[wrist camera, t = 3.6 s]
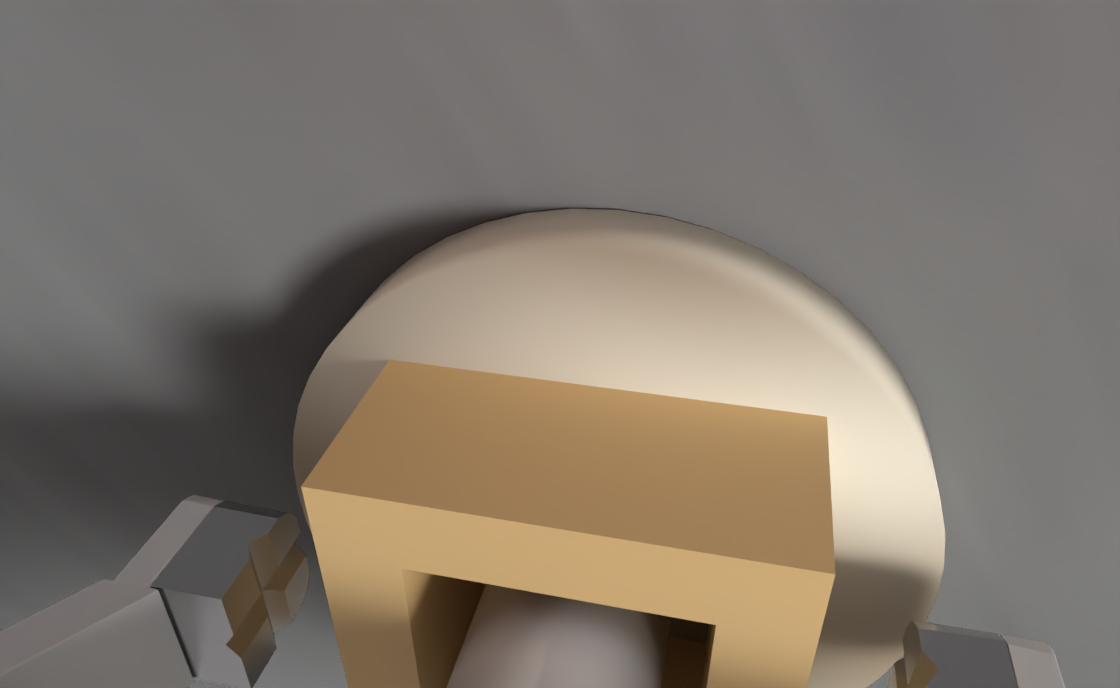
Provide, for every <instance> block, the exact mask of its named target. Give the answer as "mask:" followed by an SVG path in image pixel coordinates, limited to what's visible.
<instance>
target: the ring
mask: <svg viewBox="0 0 1120 688" xmlns="http://www.w3.org/2000/svg"><path fill="white" fill-rule="evenodd" d="M301 489H302V493H303V497H304V501H305V506H306V510H307V514H308V518H309V523H310V527H311V531H312V535H313V540H314V544H315V548H316V552H317V557H318V561H319V565H320V569H321V574H322V578H323V582H324V586H325V591H326V595H327V599H328V603H329V608H330V612H331V616H332V620H333V625H334V629H335V633H336V637H337V642H338V646H339V650H340V655H341V659H342V663H343V667H344V672H345V676H346V680H347V684H348V688H446V687H447V684H448V682H449V679H450V677H451V674H452V671H453V669H454V666H455V663H456V661H457V658H458V656H459V653H460V650H461V648H462V645H463V643H464V640H465V637H466V635H467V632H468V629H469V627H470V624H471V622H472V619H473V616H474V614H475V611H476V609H477V606H478V603H479V601H480V598H481V595H482V593H483V589H482V583H485V584H491V585H496V586H502V587H507V588H513V589H518V590H524V591H529V592H535V593H541V594H546V595H552V596H557V597H563V598H568V599H574V600H580V601H585V602H591V603H596V604H602V605H607V606H613V607H618V608H624V609H630V610H635V611H641V612H646V613H652V614H657V615H663V616H668V617H674V618H680V619H685V620H691V621H696V622H702V623H707V624H708V632H707V639H706V644H705V643H700V642H695V641H689V640H684V639H678V638H673V637H668V644H667V651H666V658H665V665H664V671H663V678H662V685H661V688H807V684H808V680H809V676H810V672H811V669H812V665H813V661H814V657H815V653H816V649H817V645H818V641H819V637H820V633H821V629H822V625H823V621H824V618H825V614H826V610H827V606H828V602H829V598H830V594H831V590H832V586H833V582H834V578H835V556H834V538H833V519H832V500H831V482H830V463H829V444H828V426H827V417H825V416H818V415H810V414H802V413H795V412H787V411H779V410H772V409H764V408H756V407H749V406H741V405H733V404H726V403H718V402H710V401H703V400H695V399H687V398H680V397H672V396H665V395H657V394H649V393H642V392H634V391H626V390H619V389H611V388H603V387H596V386H588V385H580V384H573V383H565V382H557V381H550V380H542V379H534V378H527V377H519V376H511V375H504V374H496V373H489V372H481V371H473V370H466V369H458V368H450V367H443V366H435V365H427V364H420V363H412V362H404V361H397V360H389V361H388V363H387V364H386V365H385V367H384V368H383V370H382V371H381V373H380V374H379V376H378V377H377V378H376V380H375V381H374V383H373V384H372V386H371V387H370V388H369V390H368V391H367V393H366V394H365V396H364V397H363V398H362V400H361V401H360V403H359V404H358V406H357V407H356V409H355V410H354V411H353V413H352V414H351V416H350V417H349V419H348V420H347V421H346V423H345V424H344V426H343V427H342V429H341V430H340V431H339V433H338V434H337V436H336V437H335V439H334V440H333V442H332V443H331V444H330V446H329V447H328V449H327V450H326V452H325V453H324V454H323V456H322V457H321V459H320V460H319V462H318V463H317V464H316V466H315V467H314V469H313V470H312V472H311V473H310V475H309V476H308V477H307V479H306V480H305V482H304V483H303V485H302V486H301Z"/></svg>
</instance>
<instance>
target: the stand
mask: <svg viewBox="0 0 1120 688" xmlns="http://www.w3.org/2000/svg"><path fill="white" fill-rule="evenodd" d="M389 360H397V361H404V362H412V363H420V364H427V365H435V366H443V367H450V368H458V369H466V370H473V371H481V372H489V373H496V374H504V375H511V376H519V377H527V378H534V379H542V380H550V381H557V382H565V383H573V384H580V385H588V386H596V387H603V388H611V389H619V390H626V391H634V392H642V393H649V394H657V395H665V396H672V397H680V398H687V399H695V400H703V401H710V402H718V403H726V404H733V405H741V406H749V407H756V408H764V409H772V410H779V411H787V412H795V413H802V414H810V415H818V416H825V417H827V426H828V444H829V463H830V482H831V500H832V519H833V538H834V556H835V578H834V582H833V586H832V590H831V594H830V598H829V602H828V606H827V610H826V614H825V618H824V621H823V625H822V629H821V633H820V637H819V641H818V645H817V649H816V653H815V657H814V661H813V665H812V669H811V672H810V676H809V680H808V684H807V688H866V687H868V686H869V685H870V684H872V683H873V682H875V681H876V680H877V679H879V678H880V677H881V676H882V675H883V674H884V673H885V672H886V671H887V670H888V669H889V668H890V667H891V666H892V665H894V663H895V662H897V661H898V660H899V659H900V658H901V657H902V656H903V655H904V649H903V641H902V639H903V636H904V634H905V631H906V628H907V626H908V625H909V623H910V622H911V621H912V620H915V621H921V622H926V620H927V618H928V615H929V613H930V611H931V609H932V607H933V605H934V603H935V601H936V597H937V593H938V589H939V585H940V581H941V577H942V573H943V569H944V553H945V528H944V521H943V514H942V508H941V501H940V495H939V490H938V486H937V481H936V476H935V471H934V466H933V461H932V456H931V451H930V447H929V442H928V437H927V433H926V430H925V427H924V424H923V421H922V418H921V415H920V413H919V410H918V407H917V404H916V401H915V399H914V397H913V395H912V393H911V391H910V389H909V387H908V386H907V384H906V382H905V380H904V378H903V376H902V375H901V373H900V371H899V369H898V367H897V365H896V364H895V363H894V361H893V360H892V359H891V357H890V356H889V355H888V353H887V352H886V351H885V349H884V348H883V347H882V346H881V344H880V343H879V342H878V340H877V339H876V338H875V336H874V335H873V334H872V332H871V331H870V330H869V329H868V328H867V327H866V326H865V325H864V324H863V323H862V322H861V321H860V320H859V319H857V318H856V317H855V316H854V315H853V314H852V313H851V312H850V311H849V310H848V309H847V308H846V307H845V306H844V305H843V304H842V303H841V302H840V301H839V300H838V299H836V298H835V297H834V296H832V295H831V294H830V293H828V292H827V291H826V290H824V289H823V288H822V287H820V286H819V285H818V284H816V283H815V282H814V281H812V280H811V279H810V278H808V277H807V276H806V275H804V274H803V273H801V272H800V271H798V270H796V269H794V268H793V267H791V266H789V265H787V264H785V263H784V262H782V261H780V260H778V259H777V258H775V257H773V256H771V255H769V254H768V253H766V252H764V251H762V250H761V249H758V248H756V247H754V246H751V245H749V244H746V243H744V242H741V241H739V240H737V239H734V238H732V237H729V236H727V235H724V234H722V233H720V232H717V231H715V230H711V229H708V228H704V227H700V226H697V225H693V224H690V223H686V222H682V221H679V220H675V219H671V218H668V217H662V216H655V215H649V214H642V213H636V212H629V211H622V210H603V209H562V210H552V211H541V212H531V213H524V214H520V215H515V216H511V217H507V218H502V219H498V220H494V221H490V222H485V223H482V224H480V225H477V226H475V227H472V228H469V229H467V230H464V231H462V232H459V233H456V234H454V235H451V236H449V237H446V238H444V239H443V240H441V241H439V242H437V243H436V244H434V245H432V246H430V247H429V248H427V249H425V250H423V251H422V252H420V253H418V254H416V255H414V256H413V257H412V258H411V259H409V260H408V261H407V262H406V263H404V264H403V265H402V266H401V267H399V268H398V269H397V270H396V271H394V272H393V273H392V274H391V275H389V276H388V277H387V278H386V279H385V280H384V281H383V282H382V283H381V284H380V286H379V287H378V288H377V289H376V290H375V291H374V292H373V293H372V294H371V296H370V297H369V298H368V299H367V300H366V301H365V302H364V304H363V305H362V306H361V307H360V308H359V310H358V311H357V312H356V313H355V314H354V316H353V317H352V318H351V319H350V321H349V322H348V323H347V324H346V325H345V327H344V328H343V329H342V330H341V331H340V333H339V334H338V335H337V336H336V338H335V339H334V340H333V341H332V342H331V344H330V345H329V346H328V347H327V349H326V350H325V352H324V353H323V355H322V357H321V358H320V360H319V362H318V363H317V365H316V366H315V368H314V370H313V371H312V373H311V375H310V376H309V379H308V381H307V384H306V387H305V389H304V392H303V395H302V397H301V400H300V402H299V405H298V411H297V416H296V422H295V427H294V433H293V467H294V474H295V480H296V486H297V492H298V496H299V499H300V503H301V506H302V509H303V512H304V515H305V518H306V522H307V524H308V526H309V528H310V530H311V527H310V523H309V518H308V514H307V510H306V506H305V501H304V497H303V493H302V489H301V486H302V485H303V483H304V482H305V480H306V479H307V477H308V476H309V475H310V473H311V472H312V470H313V469H314V467H315V466H316V464H317V463H318V462H319V460H320V459H321V457H322V456H323V454H324V453H325V452H326V450H327V449H328V447H329V446H330V444H331V443H332V442H333V440H334V439H335V437H336V436H337V434H338V433H339V431H340V430H341V429H342V427H343V426H344V424H345V423H346V421H347V420H348V419H349V417H350V416H351V414H352V413H353V411H354V410H355V409H356V407H357V406H358V404H359V403H360V401H361V400H362V398H363V397H364V396H365V394H366V393H367V391H368V390H369V388H370V387H371V386H372V384H373V383H374V381H375V380H376V378H377V377H378V376H379V374H380V373H381V371H382V370H383V368H384V367H385V365H386V364H387V363H388V361H389ZM311 532H312V531H311ZM482 589H483V593H482V595H481V598H480V601H479V603H478V606H477V609H476V611H475V614H474V616H473V619H472V622H471V624H470V627H469V629H468V632H467V635H466V637H465V640H464V643H463V645H462V648H461V650H460V653H459V656H458V658H457V661H456V663H455V666H454V669H453V671H452V674H451V677H450V679H449V682H448V684H447V687H446V688H661V685H662V678H663V671H664V665H665V658H666V651H667V644H668V637H673V638H678V639H684V640H689V641H695V642H700V643H705V644H706V639H707V632H708V624H707V623H702V622H696V621H691V620H685V619H680V618H674V617H668V616H663V615H657V614H652V613H646V612H641V611H635V610H630V609H624V608H618V607H613V606H607V605H602V604H596V603H591V602H585V601H580V600H574V599H568V598H563V597H557V596H552V595H546V594H541V593H535V592H529V591H524V590H518V589H513V588H507V587H502V586H496V585H491V584H485V583H482Z"/></svg>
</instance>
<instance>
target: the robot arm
mask: <svg viewBox="0 0 1120 688" xmlns="http://www.w3.org/2000/svg"><path fill="white" fill-rule="evenodd" d="M300 533H301V532H300V529H299V525H298V522H297V518H296V515H292V514H289V513H285V512H280V511H275V510H270V509H265V508H260V507H255V506H250V505H245V504H240V503H236V502H231V501H226V500H225V501H224V500H219V499H214V498H208V497H203V496H198V495H192V496H190V497H188V498H186V499H184V500H183V501H181V502H180V504H179V505H178V506H177V507H176V508H175V509H174V511H173V512H172V513H171V514H170V515H169V516H168V518H167V519H166V520H165V521H164V522H163V523H162V525H161V526H160V527H159V528H158V529H157V530H156V532H155V533H154V534H153V535H152V536H151V537H150V538H149V540H148V541H147V542H146V543H145V544H144V545H143V547H142V548H141V549H140V550H139V551H138V552H137V554H136V555H135V556H134V557H133V558H132V559H131V561H130V562H129V563H128V564H127V565H126V566H125V568H124V569H123V570H122V571H121V572H120V573H119V575H118V576H117V577H116V578H115V579H114V580H109V579H102V580H100V581H98V582H96V583H95V584H93V585H91V586H89V587H87V588H85V589H83V590H81V591H79V592H77V593H75V594H73V595H71V596H69V597H67V598H65V599H63V600H61V601H59V602H57V603H55V604H53V605H51V606H49V607H47V608H45V609H43V610H41V611H39V612H37V613H35V614H33V615H31V616H29V617H27V618H25V619H23V620H21V621H19V622H17V623H15V624H13V625H11V626H9V627H7V628H5V629H3V630H1V631H0V688H188V687H189V686H190V685H192V684H193V683H194V679H198V680H203V681H208V682H214V683H219V684H225V685H230V686H235V687H241V688H253V686H254V684H255V683H256V681H257V680H258V678H259V676H260V675H261V673H262V671H263V670H264V668H265V666H266V665H267V663H268V661H269V660H270V658H271V656H272V655H273V653H274V651H275V650H276V642H275V636H274V633H275V632H276V631H278V630H279V629H281V628H283V627H284V626H286V625H287V624H289V623H291V622H292V621H293V620H294V618H295V616H296V614H297V612H298V611H299V609H300V607H301V605H302V603H303V600H304V597H305V593H306V590H307V587H308V583H309V566H308V561H307V557H306V554H305V553H304V552H303V551H302V550H301V549H300V548H299V547H298V546H297V545H296V544H295V543H294V542H295V541H296V539H297V538H298V536H299V534H300ZM902 641H903V649H904V658H902V659H900V660H899V661H897V662H895V663H894V666H893V669H892V673H891V676H890V679H889V685H888V688H1065V685H1064V682H1063V679H1062V676H1061V672H1060V669H1059V666H1058V663H1057V659H1056V656H1055V653H1054V651H1053V649H1052V648H1051V647H1050V646H1049V644H1048V643H1045V642H1039V641H1033V640H1027V639H1021V638H1015V637H1010V636H1004V635H1000V636H999V635H998V634H996V633H989V632H983V631H977V630H971V629H964V628H958V627H952V626H946V625H940V624H933V623H927V622H921V621H915V620H912V621H911V622H910V623H909V625H908V626H907V628H906V631H905V634H904V636H903V639H902Z"/></svg>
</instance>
